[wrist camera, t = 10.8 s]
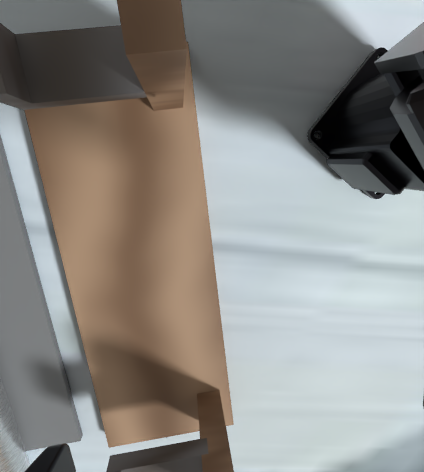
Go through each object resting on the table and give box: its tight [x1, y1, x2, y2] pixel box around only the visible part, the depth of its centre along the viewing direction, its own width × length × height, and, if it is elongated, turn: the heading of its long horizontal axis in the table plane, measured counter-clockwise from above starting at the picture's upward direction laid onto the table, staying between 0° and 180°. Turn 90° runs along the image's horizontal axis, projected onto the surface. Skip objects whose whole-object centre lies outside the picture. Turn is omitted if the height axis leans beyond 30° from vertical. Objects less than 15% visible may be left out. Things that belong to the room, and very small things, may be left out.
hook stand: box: [0, 0, 234, 472], centre depth 15 cm, size 9×25×10 cm, turn 7°
